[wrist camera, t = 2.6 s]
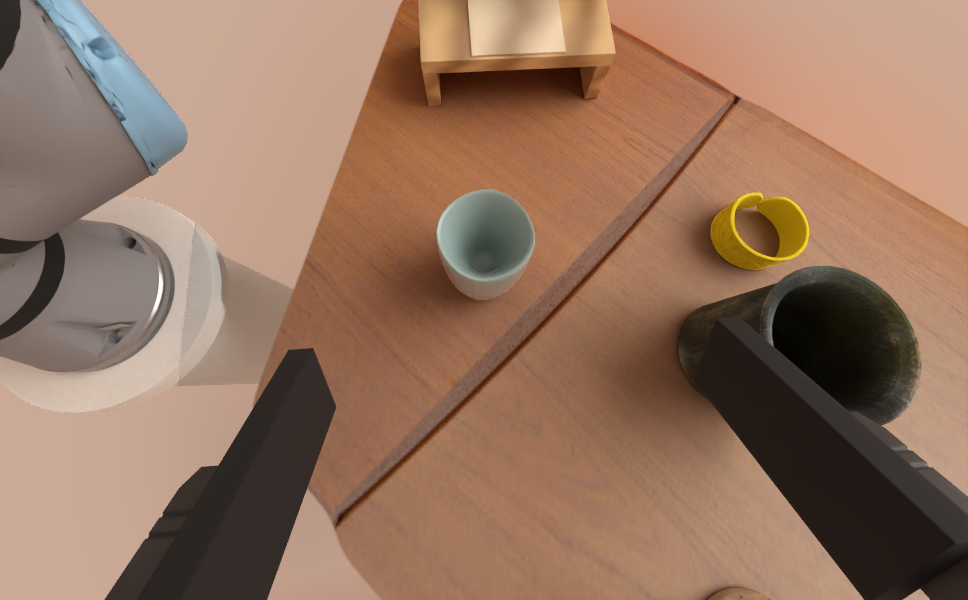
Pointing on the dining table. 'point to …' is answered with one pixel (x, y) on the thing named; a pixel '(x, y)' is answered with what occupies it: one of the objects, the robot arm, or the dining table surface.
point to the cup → (485, 243)
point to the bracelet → (781, 215)
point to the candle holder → (737, 594)
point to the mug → (826, 337)
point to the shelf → (514, 38)
